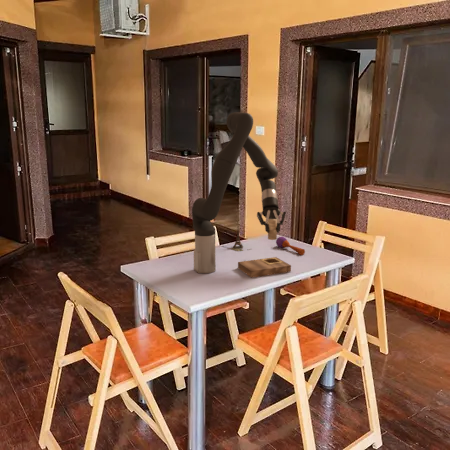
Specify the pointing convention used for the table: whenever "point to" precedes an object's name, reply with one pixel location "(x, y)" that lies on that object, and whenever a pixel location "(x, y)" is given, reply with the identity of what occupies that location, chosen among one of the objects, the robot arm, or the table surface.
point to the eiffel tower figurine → (237, 248)
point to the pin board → (264, 267)
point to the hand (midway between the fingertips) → (273, 231)
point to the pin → (272, 229)
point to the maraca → (288, 245)
